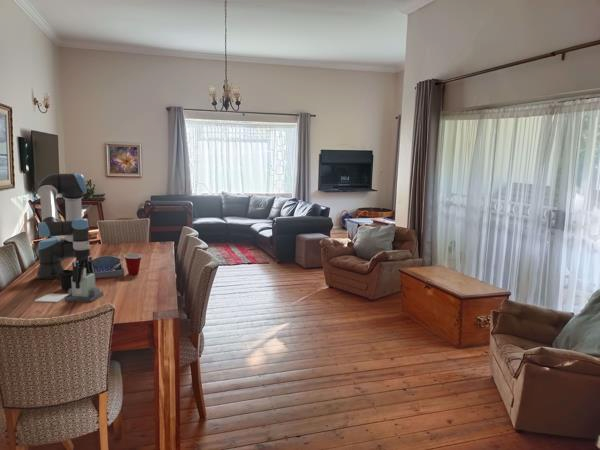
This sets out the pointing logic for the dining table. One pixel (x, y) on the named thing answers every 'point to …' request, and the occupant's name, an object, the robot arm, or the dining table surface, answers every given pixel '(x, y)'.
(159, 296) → the dining table surface
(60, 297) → the mat
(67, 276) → the pen holder
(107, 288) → the dining table surface
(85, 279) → the sleeve
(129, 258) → the plastic cup
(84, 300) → the block with threaded rod
